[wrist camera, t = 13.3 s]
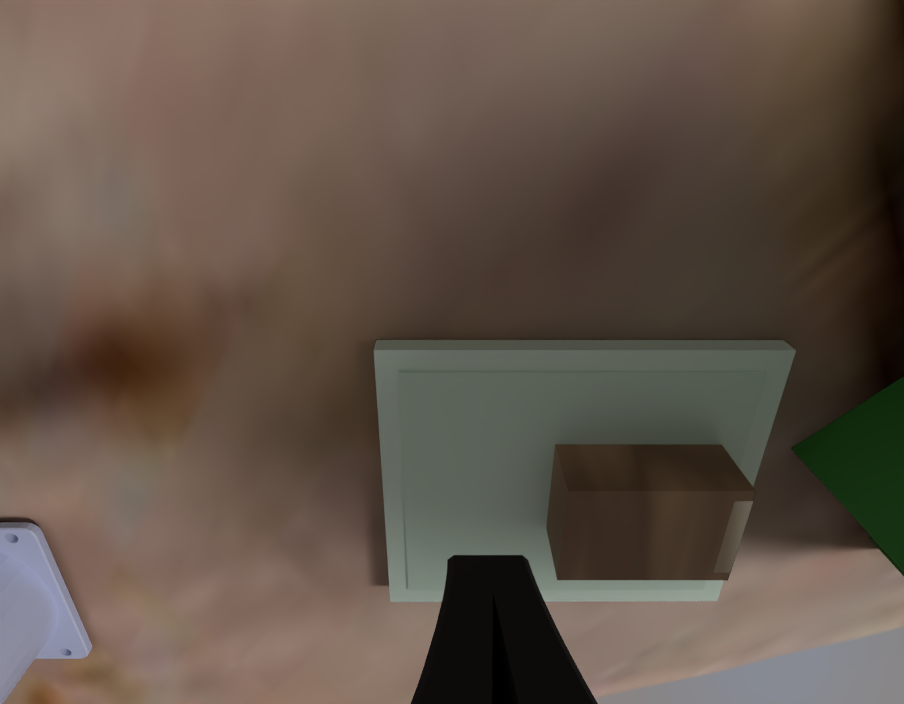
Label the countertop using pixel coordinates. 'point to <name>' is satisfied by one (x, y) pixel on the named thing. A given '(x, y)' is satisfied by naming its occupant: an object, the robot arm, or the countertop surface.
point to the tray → (547, 440)
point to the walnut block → (646, 512)
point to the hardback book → (866, 466)
